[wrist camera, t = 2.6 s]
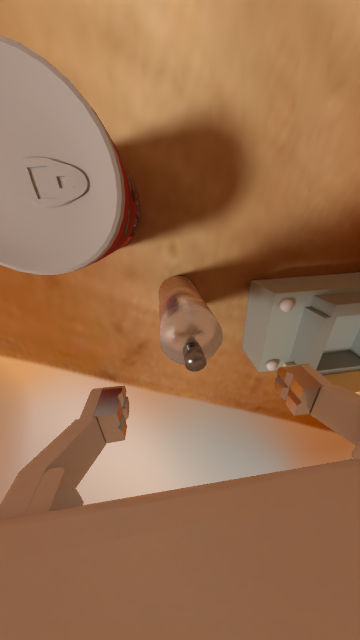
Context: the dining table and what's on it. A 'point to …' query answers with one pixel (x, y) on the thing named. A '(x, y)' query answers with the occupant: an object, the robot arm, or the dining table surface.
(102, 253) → the canned food
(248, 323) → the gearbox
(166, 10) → the dining table surface
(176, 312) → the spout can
